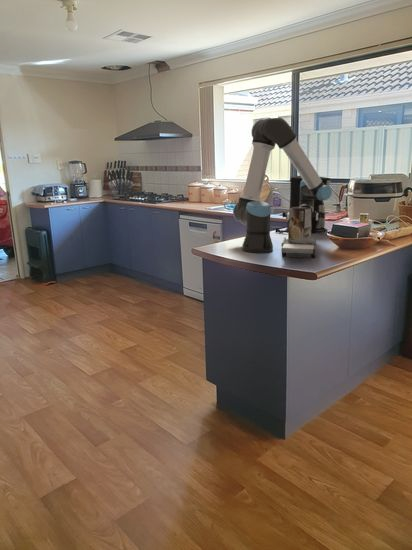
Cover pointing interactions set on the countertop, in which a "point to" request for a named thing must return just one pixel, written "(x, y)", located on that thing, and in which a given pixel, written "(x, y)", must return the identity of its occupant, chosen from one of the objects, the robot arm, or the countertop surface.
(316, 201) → the coffee maker
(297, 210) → the coffee box
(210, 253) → the countertop surface
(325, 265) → the countertop surface
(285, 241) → the bed
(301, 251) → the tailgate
